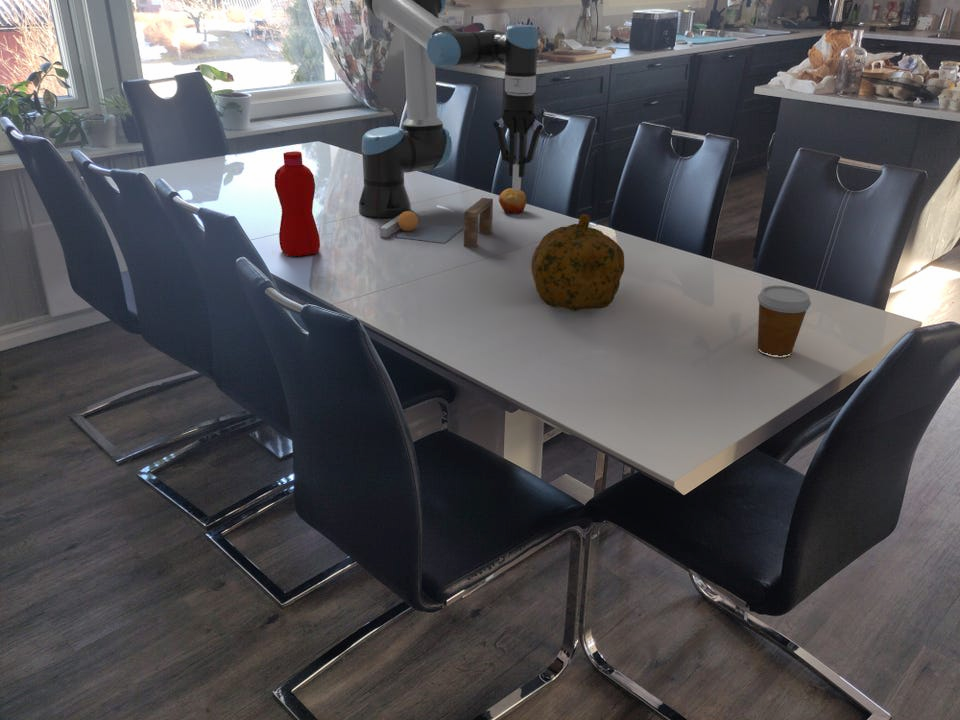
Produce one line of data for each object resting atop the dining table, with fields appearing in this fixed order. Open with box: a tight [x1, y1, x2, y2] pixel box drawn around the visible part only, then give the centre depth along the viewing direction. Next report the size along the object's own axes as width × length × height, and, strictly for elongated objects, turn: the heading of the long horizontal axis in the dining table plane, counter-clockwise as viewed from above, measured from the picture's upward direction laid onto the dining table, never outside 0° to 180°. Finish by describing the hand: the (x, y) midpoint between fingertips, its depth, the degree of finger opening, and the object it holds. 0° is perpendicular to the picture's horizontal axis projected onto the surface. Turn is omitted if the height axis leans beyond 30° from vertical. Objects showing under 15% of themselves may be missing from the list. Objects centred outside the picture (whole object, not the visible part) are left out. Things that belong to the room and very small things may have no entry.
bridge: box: [463, 197, 494, 248], centre depth 219 cm, size 3×14×9 cm, turn 161°
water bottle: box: [274, 150, 321, 257], centre depth 204 cm, size 9×11×25 cm
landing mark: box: [395, 222, 464, 244], centre depth 225 cm, size 14×14×1 cm
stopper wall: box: [379, 214, 401, 238], centre depth 227 cm, size 2×16×2 cm, turn 161°
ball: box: [398, 210, 419, 232], centre depth 225 cm, size 6×6×6 cm
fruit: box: [498, 187, 527, 214], centre depth 244 cm, size 8×8×8 cm
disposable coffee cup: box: [757, 285, 812, 356], centre depth 158 cm, size 10×10×12 cm
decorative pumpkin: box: [530, 214, 625, 312], centre depth 178 cm, size 20×21×20 cm
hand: (516, 189), depth 212 cm, fingers closed
